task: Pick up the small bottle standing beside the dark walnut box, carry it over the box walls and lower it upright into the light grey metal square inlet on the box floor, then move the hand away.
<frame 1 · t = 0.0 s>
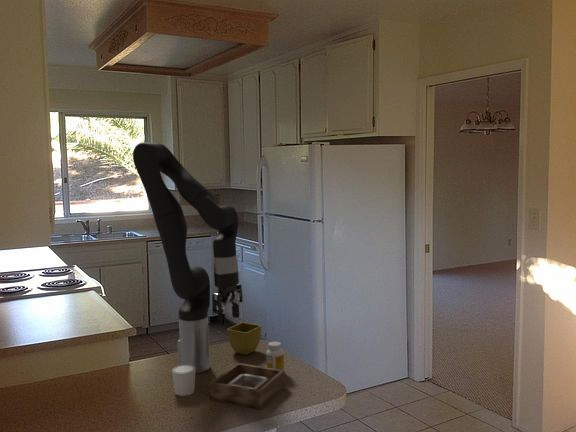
hand: (229, 321, 171), 17 cm above the countertop, tool pointing down, fingers open, 8 cm apart
white cup: (184, 392, 161), on the countertop
walled box: (248, 393, 159), on the countertop
supplement bottle: (275, 373, 173), on the countertop
flower pot: (245, 352, 192), on the countertop
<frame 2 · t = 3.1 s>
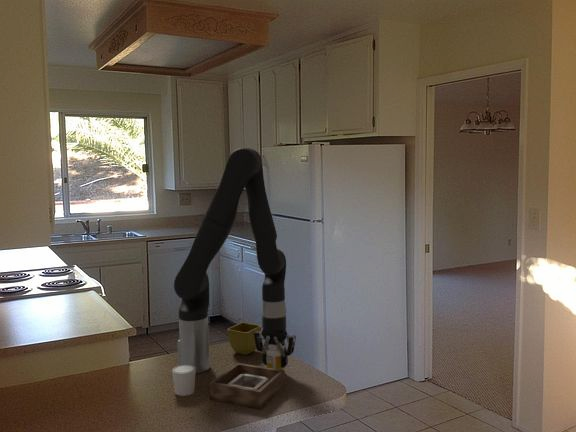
hand: (275, 365, 173), 3 cm above the countertop, tool pointing down, fingers closed on supplement bottle, 5 cm apart
supplement bottle: (275, 373, 173), on the countertop, touching gripper
everything else where it was.
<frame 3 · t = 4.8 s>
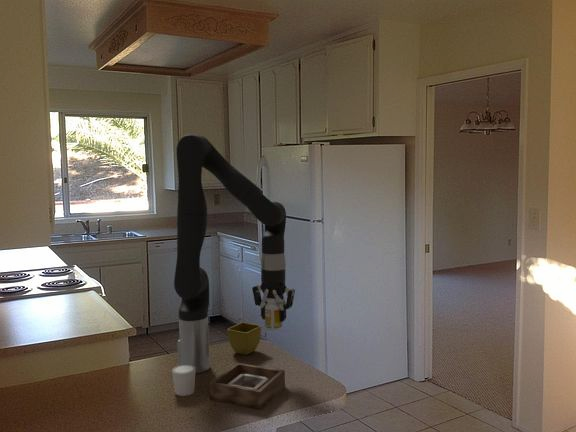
hand: (273, 319, 171), 17 cm above the countertop, tool pointing down, fingers closed on supplement bottle, 5 cm apart
supplement bottle: (273, 328, 171), point 15 cm above the countertop, touching gripper
everything else where it was.
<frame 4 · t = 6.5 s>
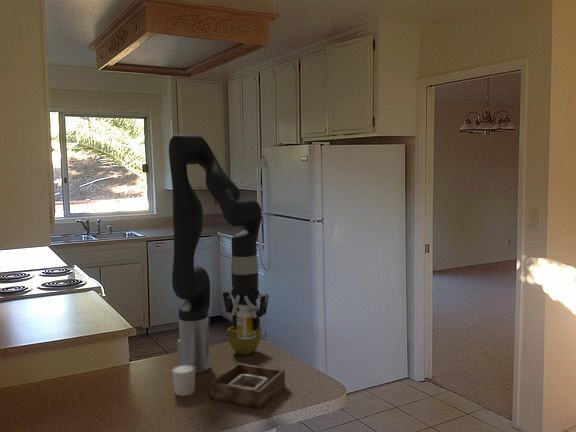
hand: (246, 328, 157), 19 cm above the countertop, tool pointing down, fingers closed on supplement bottle, 5 cm apart
supplement bottle: (246, 337, 157), point 17 cm above the countertop, touching gripper
everything else where it was.
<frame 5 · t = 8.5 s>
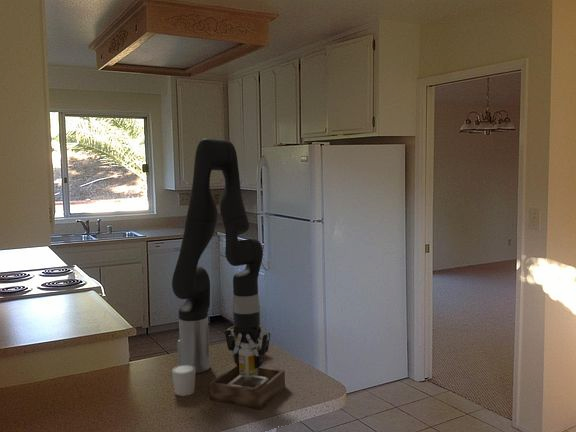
hand: (248, 365, 158), 8 cm above the countertop, tool pointing down, fingers closed on supplement bottle, 5 cm apart
supplement bottle: (248, 374, 158), point 5 cm above the countertop, touching gripper
everything else where it was.
when the fingers open (4 cm above the countertop, at t = 10.2 s): supplement bottle stays where it is, resting on walled box.
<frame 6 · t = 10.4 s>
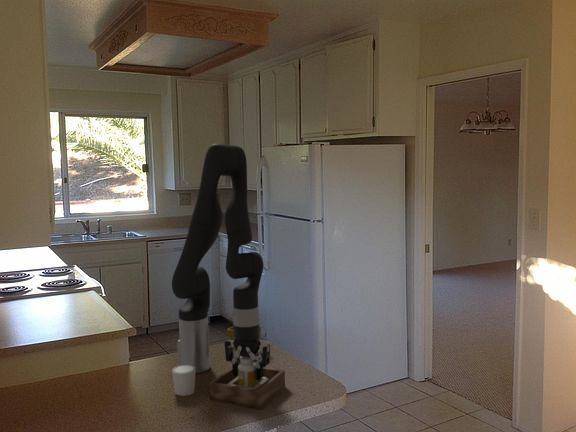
hand: (248, 377, 158), 5 cm above the countertop, tool pointing down, fingers open, 6 cm apart
supplement bottle: (248, 390, 159), point 1 cm above the countertop, touching walled box
everything else where it was.
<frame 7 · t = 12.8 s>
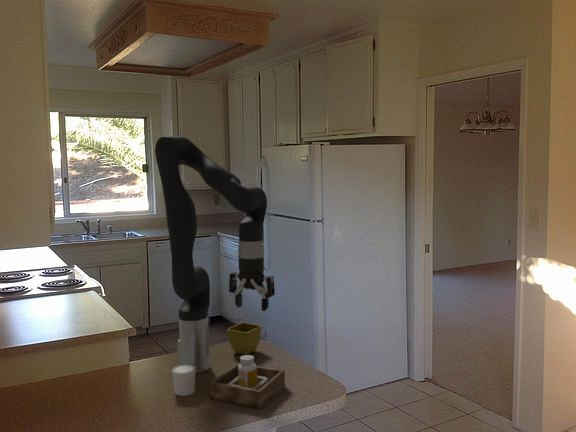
hand: (251, 308, 163), 23 cm above the countertop, tool pointing down, fingers open, 8 cm apart
nothing on the countertop moved.
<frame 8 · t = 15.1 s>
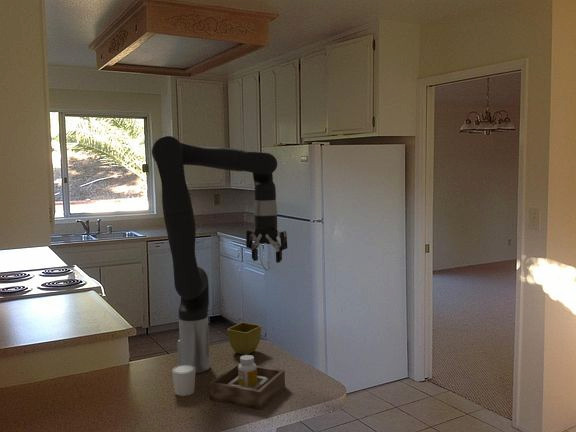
hand: (267, 261, 183), 33 cm above the countertop, tool pointing down, fingers open, 8 cm apart
nothing on the countertop moved.
at the end: supplement bottle 0.2 cm off-centre on the walled box, point 0.8 cm above the walled box's base; supplement bottle tilted 0°; the gripper is holding nothing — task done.
